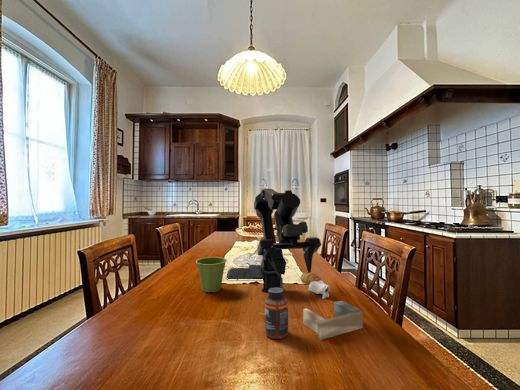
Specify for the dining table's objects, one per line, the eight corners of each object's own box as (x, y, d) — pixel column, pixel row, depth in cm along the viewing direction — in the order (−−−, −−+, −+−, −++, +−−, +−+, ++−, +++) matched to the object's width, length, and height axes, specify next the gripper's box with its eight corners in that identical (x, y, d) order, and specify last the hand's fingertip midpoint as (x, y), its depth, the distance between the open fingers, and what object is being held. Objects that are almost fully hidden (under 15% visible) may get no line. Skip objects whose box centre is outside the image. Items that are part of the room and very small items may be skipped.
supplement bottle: (291, 331, 70) (291, 287, 71) (283, 342, 65) (283, 295, 65) (270, 327, 73) (270, 284, 73) (261, 337, 68) (260, 291, 68)
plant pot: (189, 293, 99) (189, 263, 99) (204, 284, 111) (204, 256, 111) (220, 296, 96) (220, 264, 96) (231, 286, 108) (231, 257, 108)
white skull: (334, 300, 96) (316, 285, 104) (334, 283, 94) (316, 270, 103) (323, 305, 94) (305, 290, 102) (323, 288, 92) (305, 274, 100)
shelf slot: (299, 324, 74) (299, 308, 74) (339, 314, 81) (339, 299, 81) (320, 340, 66) (320, 321, 66) (363, 327, 72) (363, 310, 72)
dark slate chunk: (229, 272, 130) (228, 262, 130) (274, 271, 130) (274, 262, 130) (224, 281, 115) (224, 270, 115) (276, 281, 115) (276, 270, 115)
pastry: (326, 284, 109) (326, 275, 109) (313, 287, 106) (313, 278, 106) (310, 279, 117) (310, 270, 117) (298, 281, 114) (298, 272, 114)
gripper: (260, 212, 78) (267, 264, 69) (320, 211, 82) (335, 260, 73) (254, 231, 87) (260, 279, 78) (309, 229, 91) (321, 275, 81)
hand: (294, 273), depth 77 cm, fingers open, 9 cm apart
